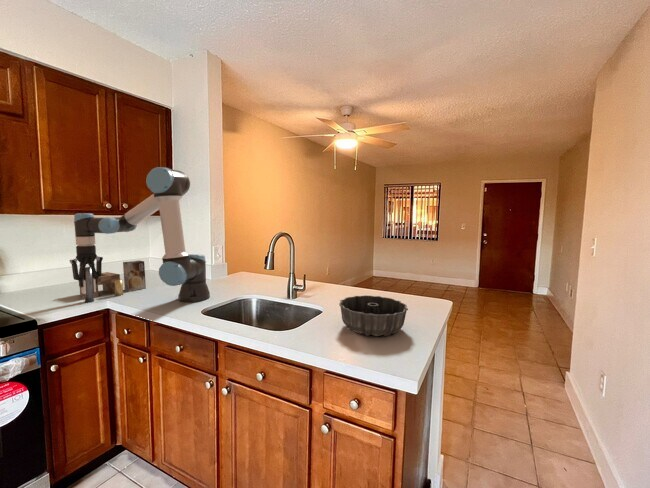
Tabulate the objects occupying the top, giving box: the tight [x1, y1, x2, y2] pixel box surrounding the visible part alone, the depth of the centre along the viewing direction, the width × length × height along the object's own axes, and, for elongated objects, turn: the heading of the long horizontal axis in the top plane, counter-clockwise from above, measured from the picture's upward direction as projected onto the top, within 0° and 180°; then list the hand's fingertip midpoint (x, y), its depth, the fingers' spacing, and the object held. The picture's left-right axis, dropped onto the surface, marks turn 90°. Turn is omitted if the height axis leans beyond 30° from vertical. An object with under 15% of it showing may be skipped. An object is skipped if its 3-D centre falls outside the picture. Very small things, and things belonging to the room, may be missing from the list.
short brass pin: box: [114, 279, 124, 297], centre depth 165 cm, size 4×4×8 cm
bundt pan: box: [338, 295, 409, 337], centre depth 122 cm, size 26×26×10 cm
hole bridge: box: [79, 271, 121, 298], centre depth 168 cm, size 12×14×10 cm
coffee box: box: [122, 260, 147, 292], centre depth 178 cm, size 9×6×16 cm
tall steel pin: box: [83, 266, 95, 303], centre depth 153 cm, size 4×4×17 cm
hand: (88, 292), depth 153 cm, fingers closed on tall steel pin, 3 cm apart
